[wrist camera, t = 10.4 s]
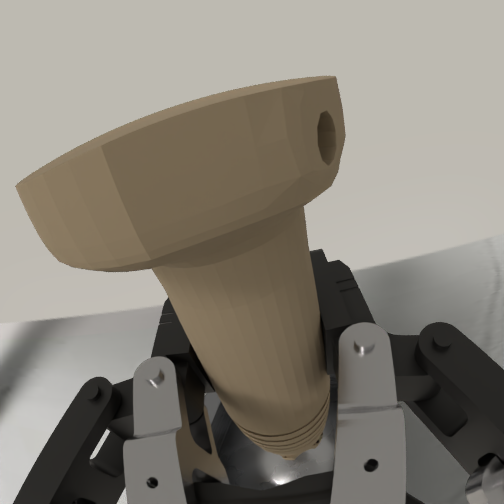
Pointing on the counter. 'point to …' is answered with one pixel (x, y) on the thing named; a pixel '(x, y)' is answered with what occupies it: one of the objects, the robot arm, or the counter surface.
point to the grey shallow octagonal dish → (260, 461)
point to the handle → (216, 237)
